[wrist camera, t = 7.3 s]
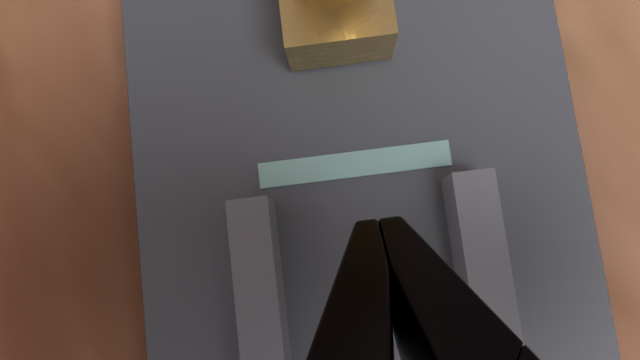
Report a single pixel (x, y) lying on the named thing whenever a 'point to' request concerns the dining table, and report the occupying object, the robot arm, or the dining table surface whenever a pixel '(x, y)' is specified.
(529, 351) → the robot arm
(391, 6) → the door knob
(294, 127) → the lock plate
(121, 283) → the dining table surface
